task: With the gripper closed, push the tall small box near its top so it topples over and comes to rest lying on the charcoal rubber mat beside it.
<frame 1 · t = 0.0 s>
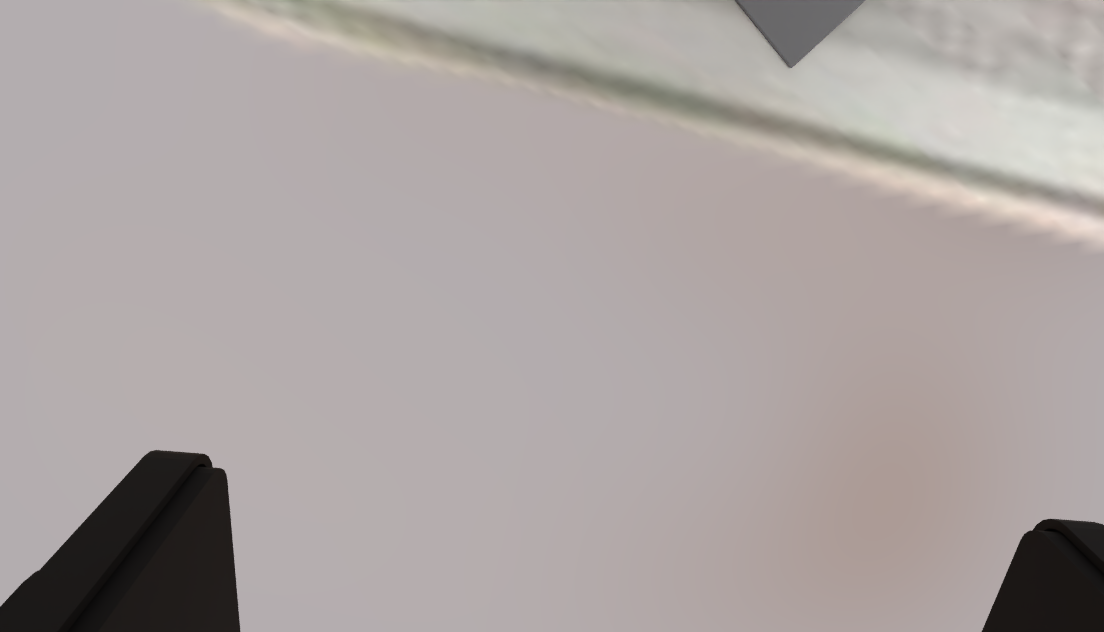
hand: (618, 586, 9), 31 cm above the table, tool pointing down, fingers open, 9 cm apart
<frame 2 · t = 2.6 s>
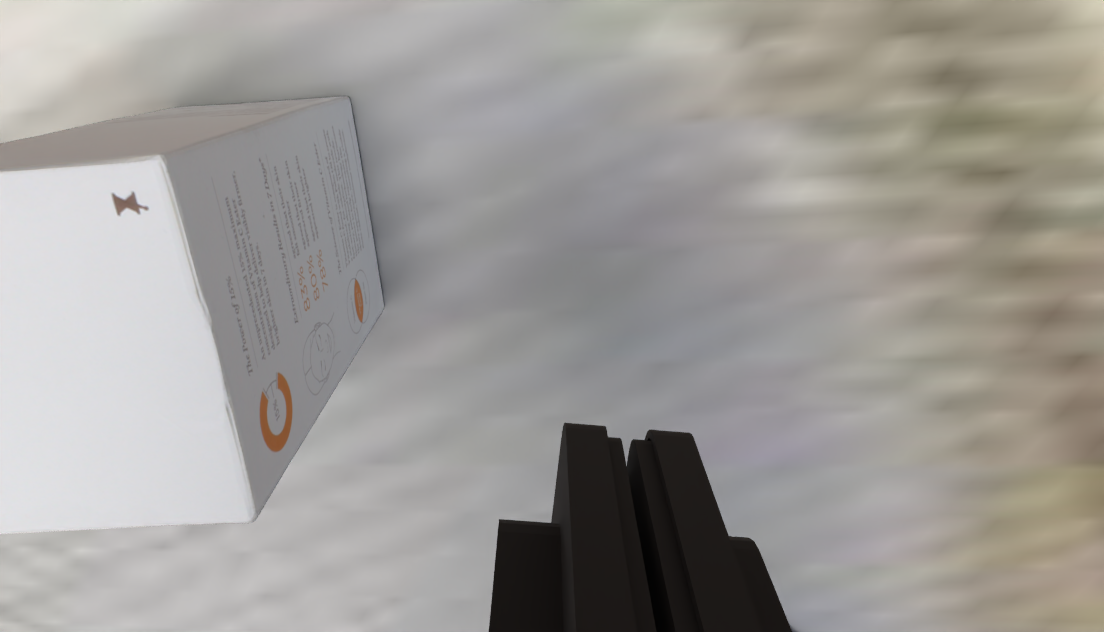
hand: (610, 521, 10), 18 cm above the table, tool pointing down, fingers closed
small box: (286, 212, 27), on the table
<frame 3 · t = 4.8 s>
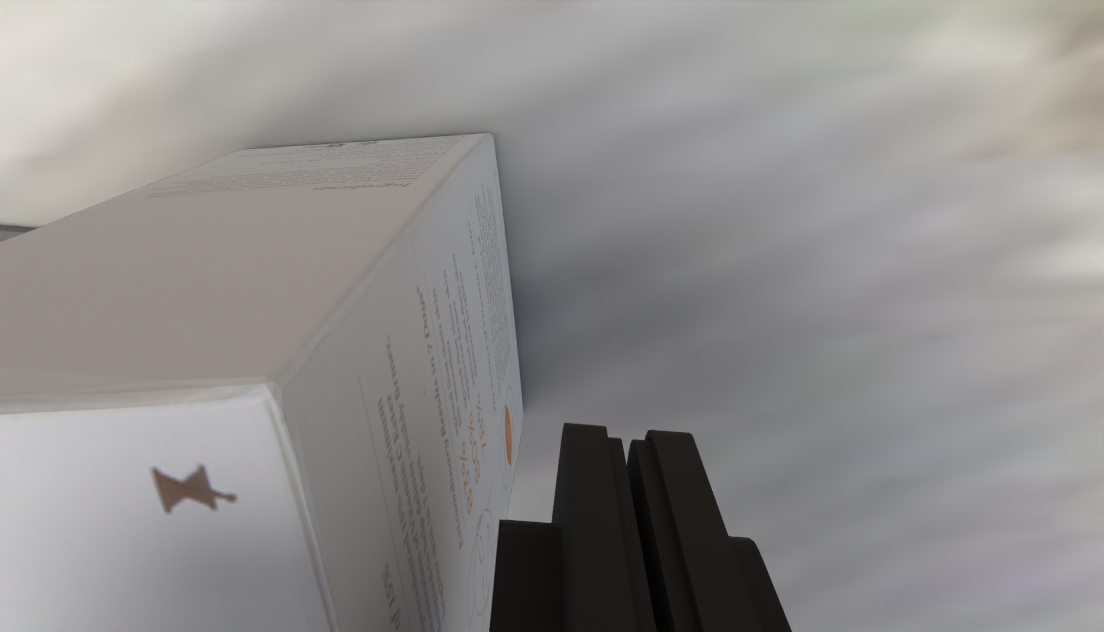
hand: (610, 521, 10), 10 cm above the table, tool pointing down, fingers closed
mat: (32, 416, 20), on the table
small box: (393, 291, 19), on the table
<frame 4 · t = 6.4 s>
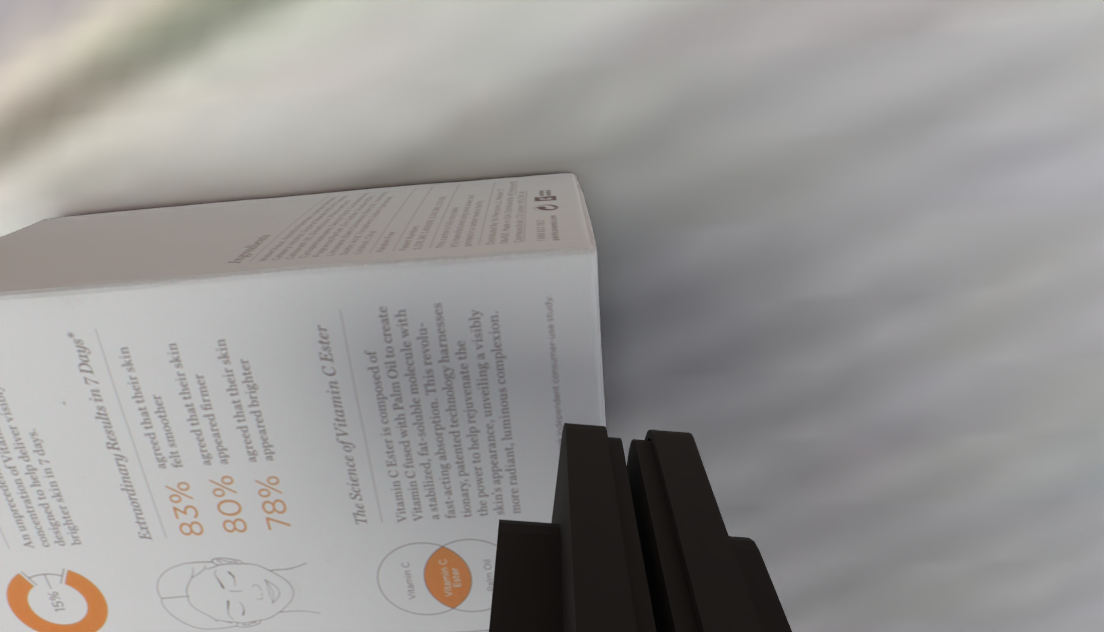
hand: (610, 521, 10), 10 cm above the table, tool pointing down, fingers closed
small box: (609, 378, 16), point 3 cm above the table, touching mat
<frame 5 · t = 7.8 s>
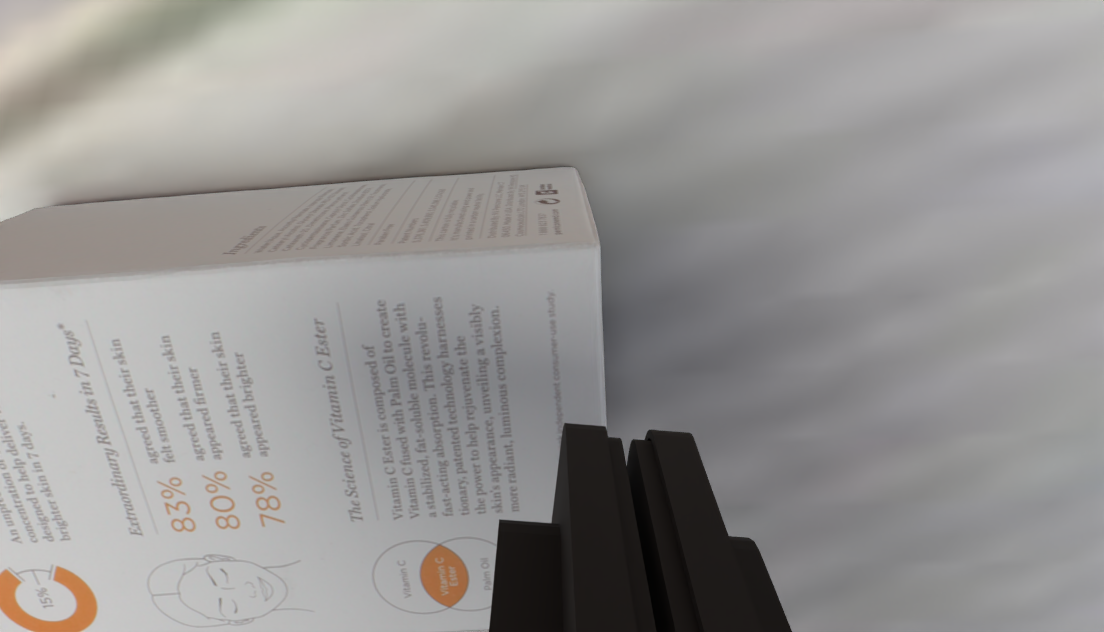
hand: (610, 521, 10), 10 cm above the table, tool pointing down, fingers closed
small box: (609, 375, 16), point 3 cm above the table, touching mat
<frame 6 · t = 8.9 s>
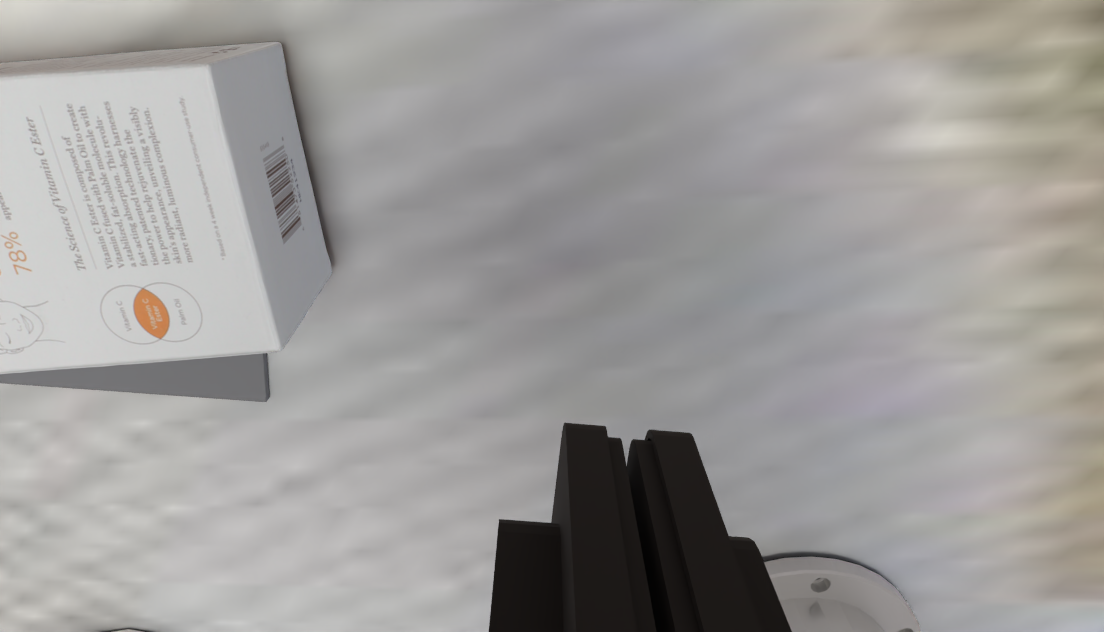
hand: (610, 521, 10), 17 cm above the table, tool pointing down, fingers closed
mat: (118, 255, 26), on the table
small box: (292, 189, 22), point 3 cm above the table, touching mat
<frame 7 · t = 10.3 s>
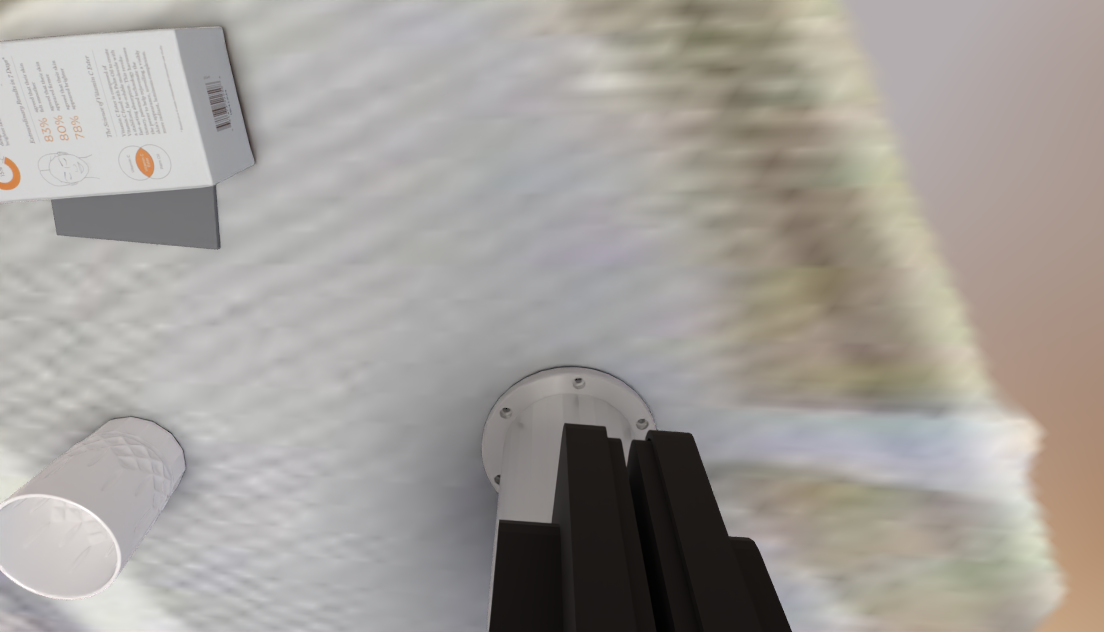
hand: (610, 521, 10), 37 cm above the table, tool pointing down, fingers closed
mat: (130, 154, 44), on the table
white cup: (140, 454, 53), on the table
small box: (224, 103, 40), point 3 cm above the table, touching mat
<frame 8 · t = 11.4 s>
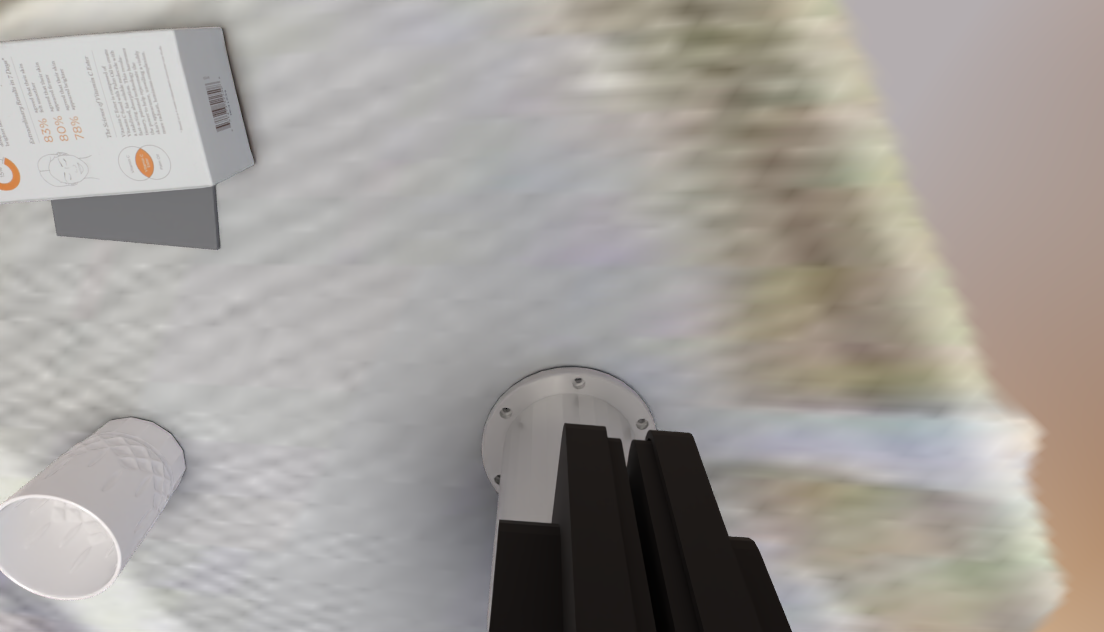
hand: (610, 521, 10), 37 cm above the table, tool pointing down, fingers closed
mat: (130, 154, 44), on the table
white cup: (140, 454, 53), on the table
small box: (223, 104, 40), point 3 cm above the table, touching mat
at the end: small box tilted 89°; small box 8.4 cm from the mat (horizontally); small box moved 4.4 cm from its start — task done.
